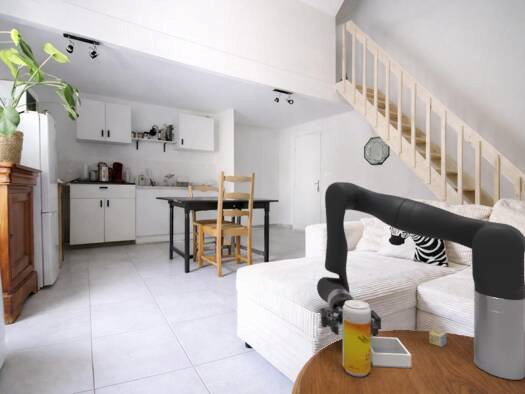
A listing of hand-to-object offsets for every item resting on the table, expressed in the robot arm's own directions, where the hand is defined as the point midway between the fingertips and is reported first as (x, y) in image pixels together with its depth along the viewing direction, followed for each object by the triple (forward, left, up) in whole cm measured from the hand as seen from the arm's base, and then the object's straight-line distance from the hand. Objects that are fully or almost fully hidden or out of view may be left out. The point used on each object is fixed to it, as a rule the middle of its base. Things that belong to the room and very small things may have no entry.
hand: (356, 331), depth 68 cm
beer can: (0, 0, -9) cm, 9 cm away
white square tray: (-9, -6, -9) cm, 13 cm away
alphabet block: (-25, -14, -9) cm, 30 cm away
